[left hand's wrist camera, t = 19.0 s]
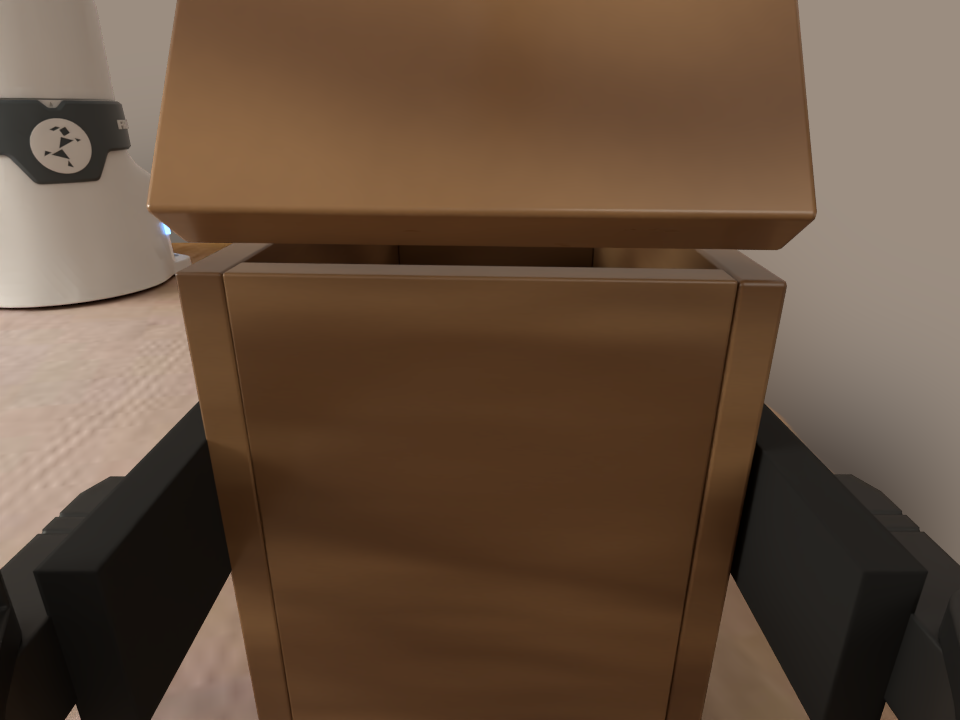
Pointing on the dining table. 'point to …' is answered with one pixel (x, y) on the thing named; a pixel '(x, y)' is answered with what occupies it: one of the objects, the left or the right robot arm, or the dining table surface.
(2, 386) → the dining table surface
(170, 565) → the left robot arm
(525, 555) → the chest
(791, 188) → the lid
